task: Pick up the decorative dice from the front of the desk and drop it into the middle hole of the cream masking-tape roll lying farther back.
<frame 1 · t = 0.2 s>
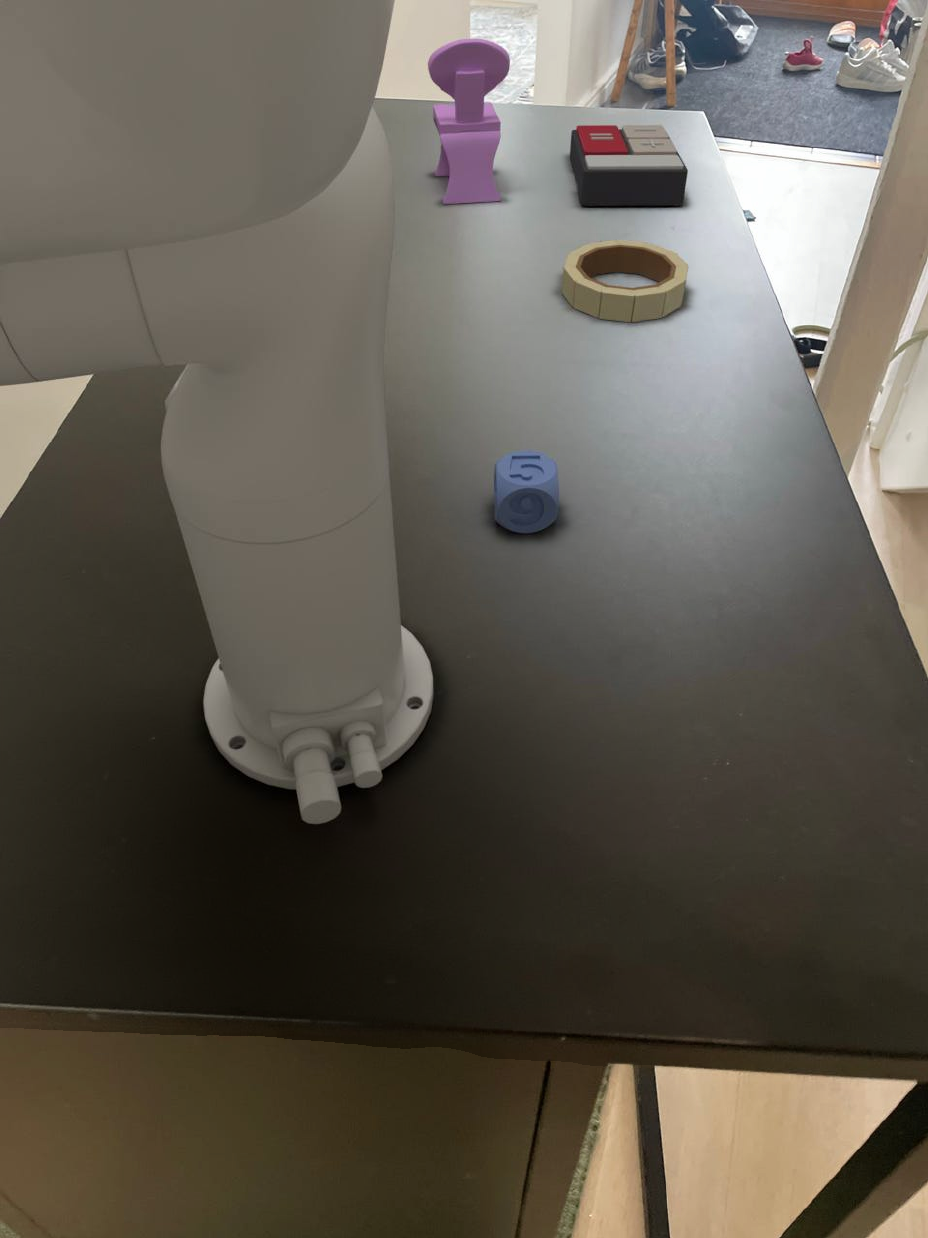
tube: (246, 366, 76), on the table
toy chair: (466, 188, 102), on the table
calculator: (623, 182, 103), on the table
tape roll: (622, 292, 84), on the table
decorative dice: (524, 517, 62), on the table
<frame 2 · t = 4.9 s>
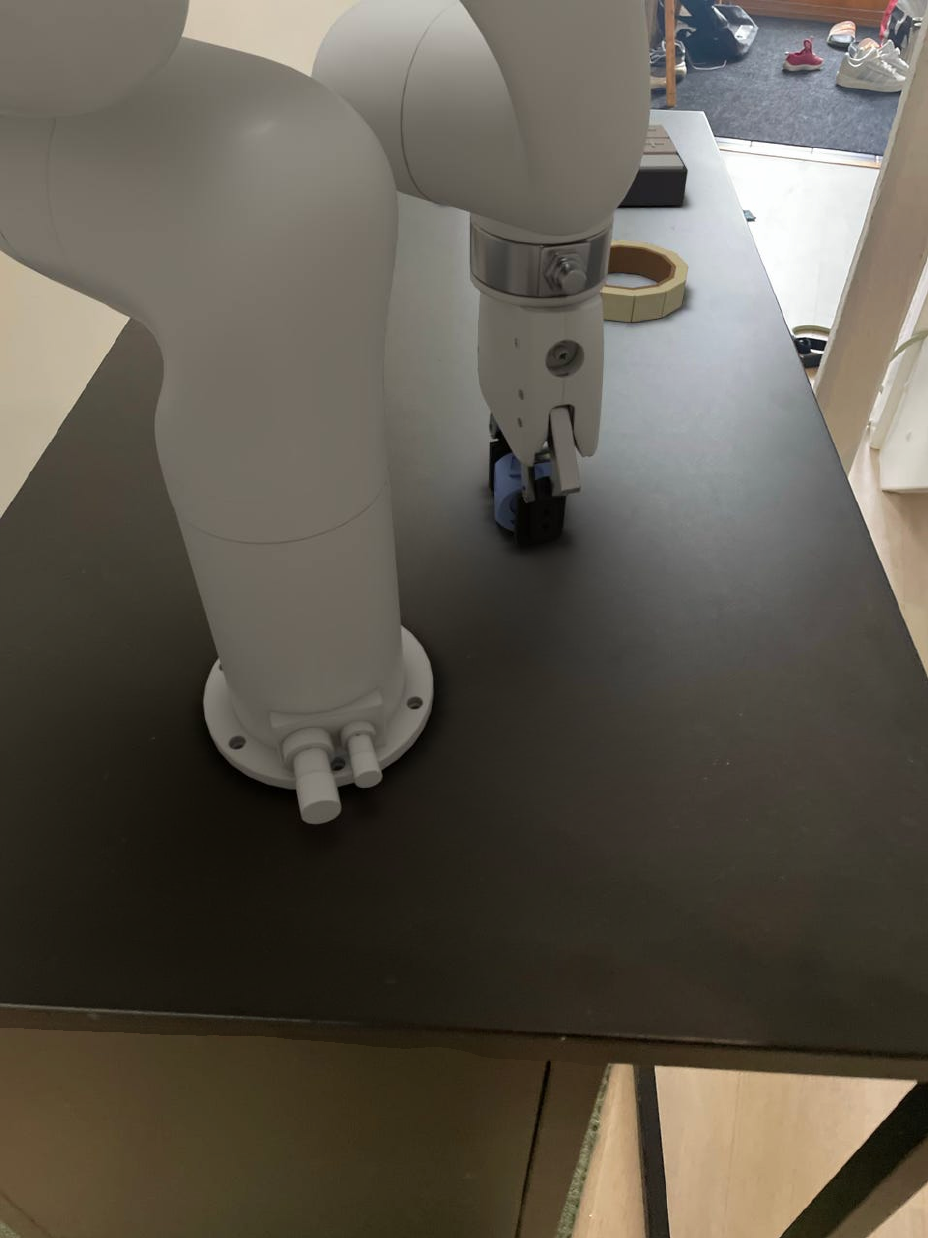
hand: (524, 510, 62), 0 cm above the table, tool pointing down, fingers closed on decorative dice, 4 cm apart
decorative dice: (524, 517, 62), on the table, touching gripper
everything else where it was.
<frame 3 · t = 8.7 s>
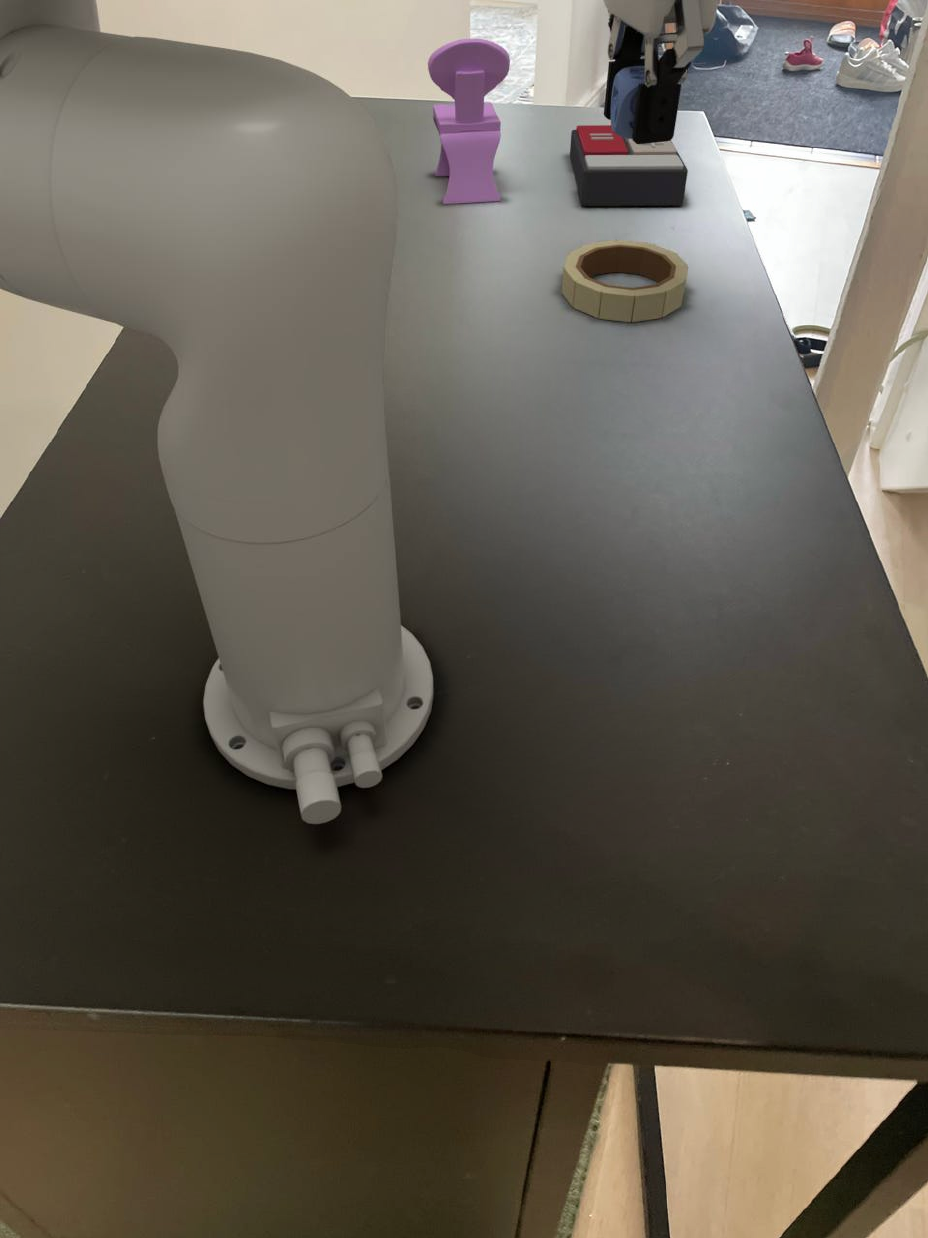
hand: (637, 126, 71), 15 cm above the table, tool pointing down, fingers closed on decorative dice, 4 cm apart
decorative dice: (637, 133, 71), point 15 cm above the table, touching gripper
everything else where it was.
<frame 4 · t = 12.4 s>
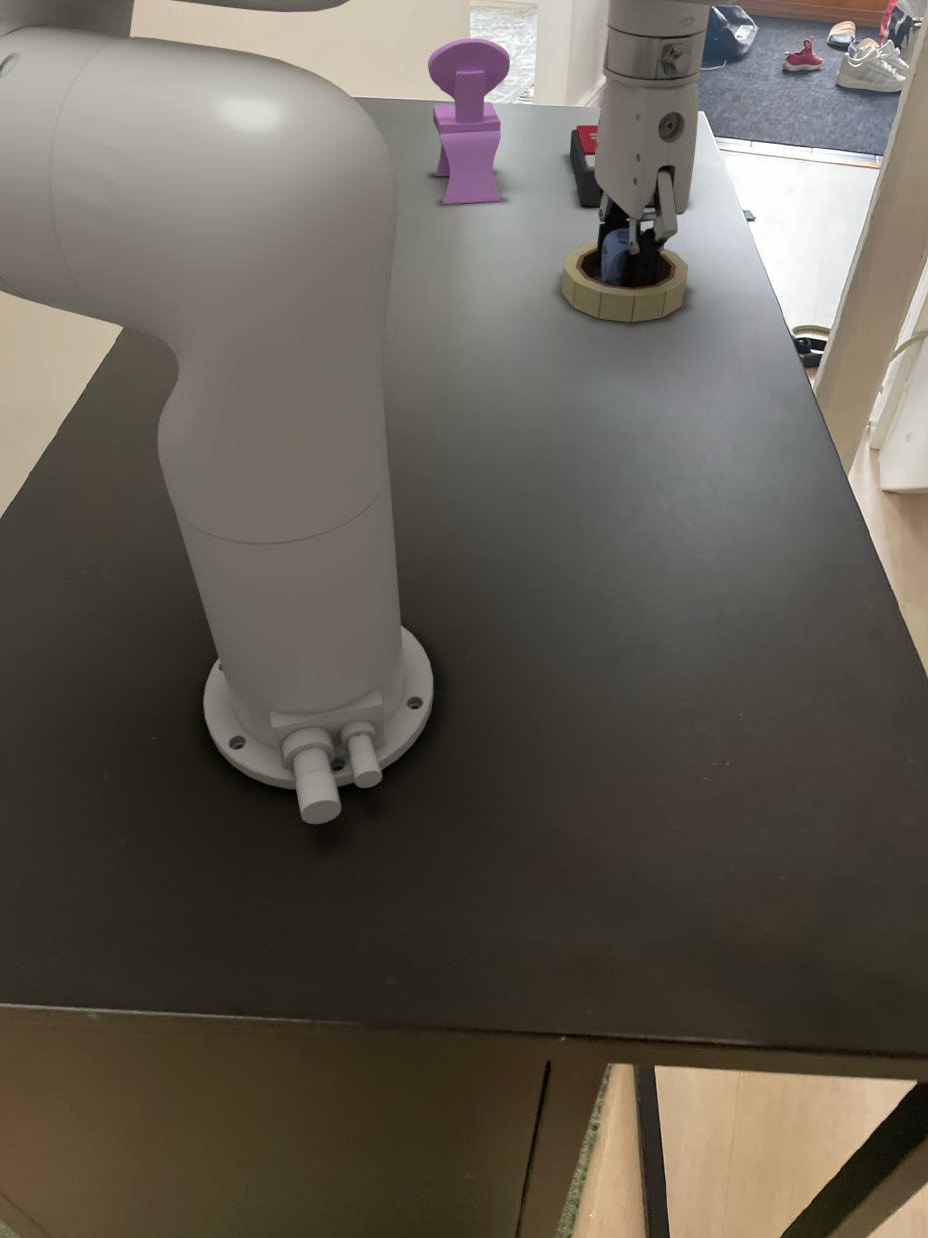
hand: (624, 277, 83), 2 cm above the table, tool pointing down, fingers closed on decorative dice, 4 cm apart
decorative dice: (623, 282, 84), point 1 cm above the table, touching gripper
everything else where it was.
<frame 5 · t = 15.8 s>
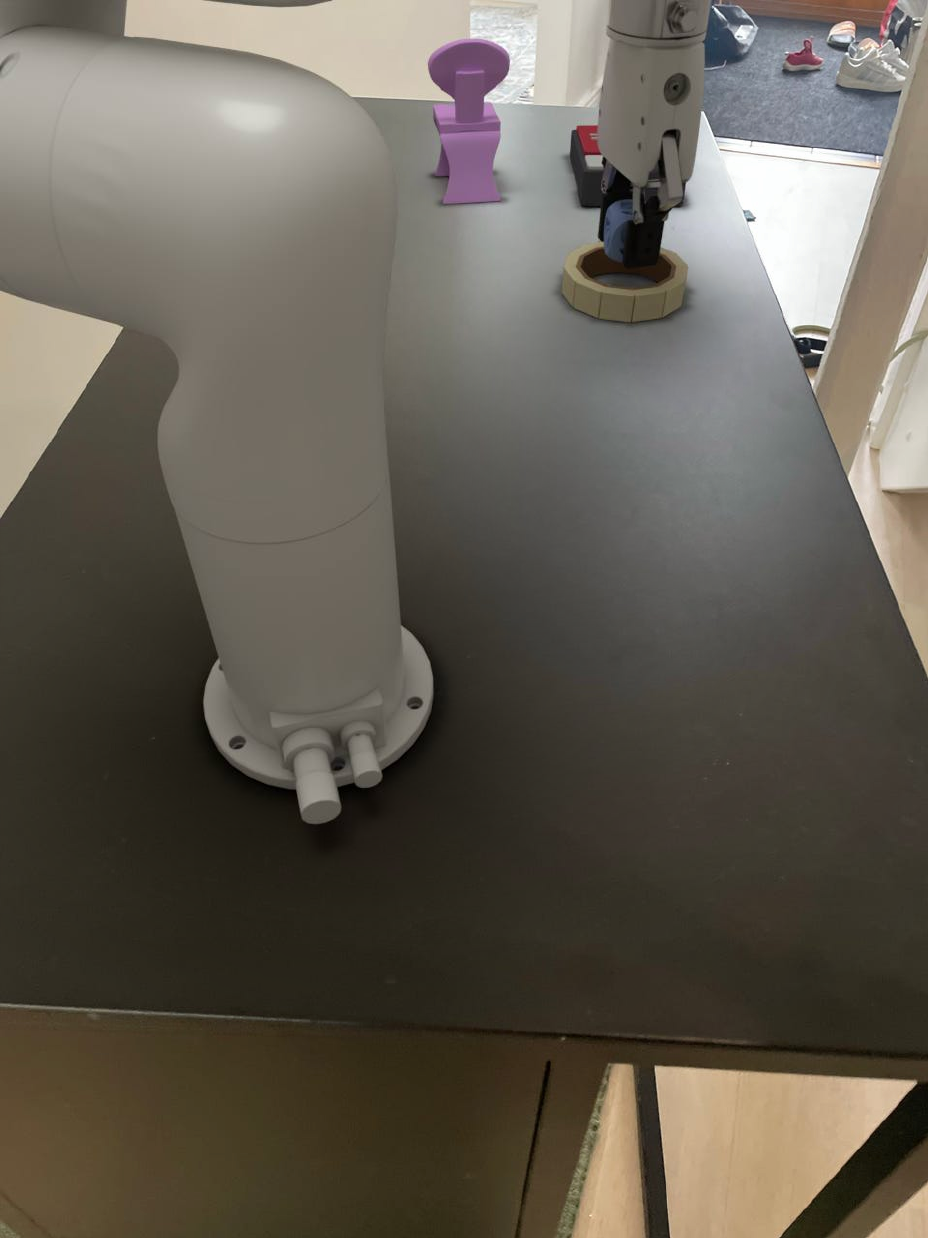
hand: (627, 249, 81), 4 cm above the table, tool pointing down, fingers closed on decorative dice, 4 cm apart
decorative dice: (626, 255, 81), point 4 cm above the table, touching gripper
everything else where it was.
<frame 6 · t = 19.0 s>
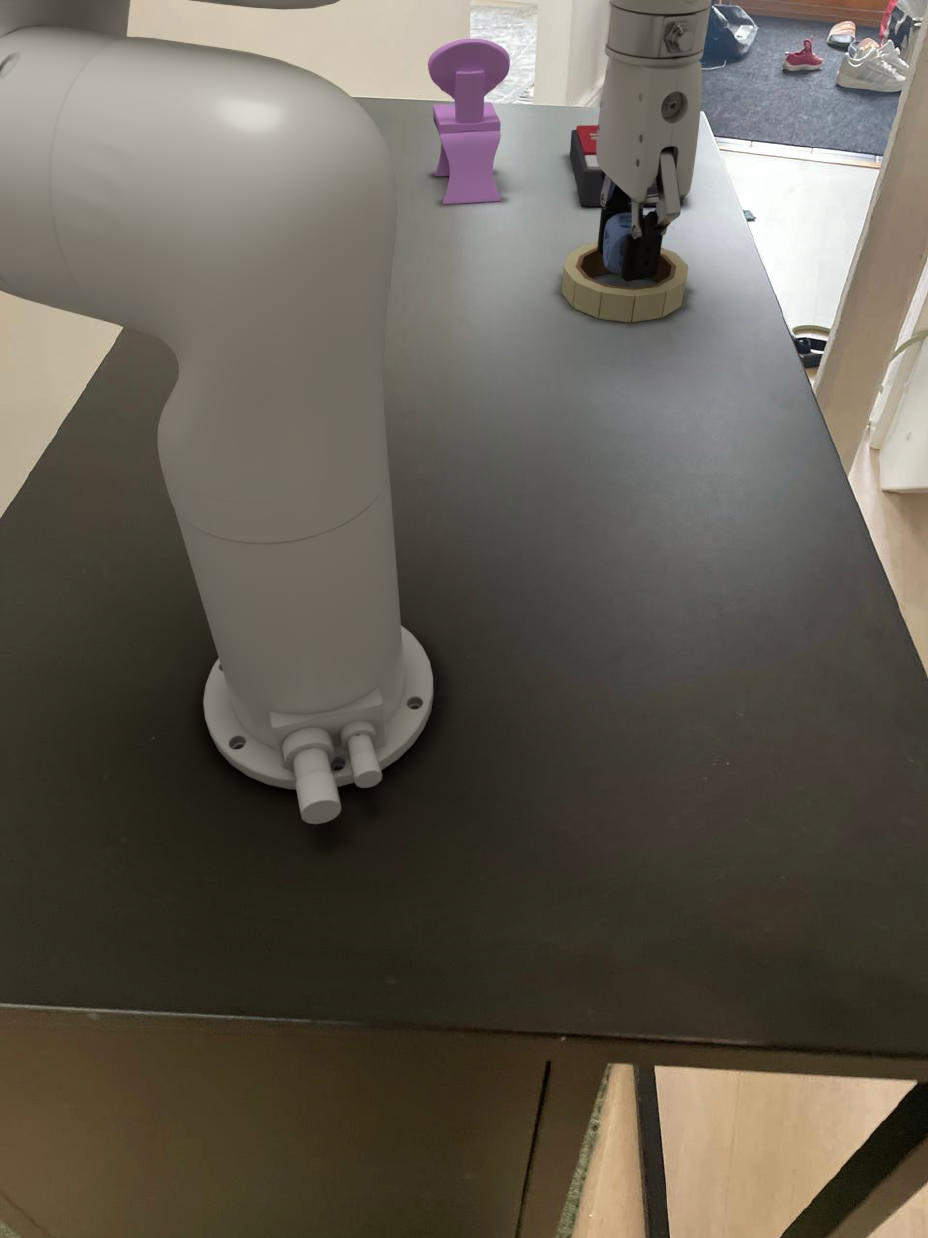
hand: (626, 262, 82), 3 cm above the table, tool pointing down, fingers closed on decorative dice, 4 cm apart
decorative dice: (625, 267, 83), point 2 cm above the table, touching gripper
everything else where it was.
when the fingers open (4 cm above the table, at t = 25.4 s): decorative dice drops 4 cm, resting in tape roll.
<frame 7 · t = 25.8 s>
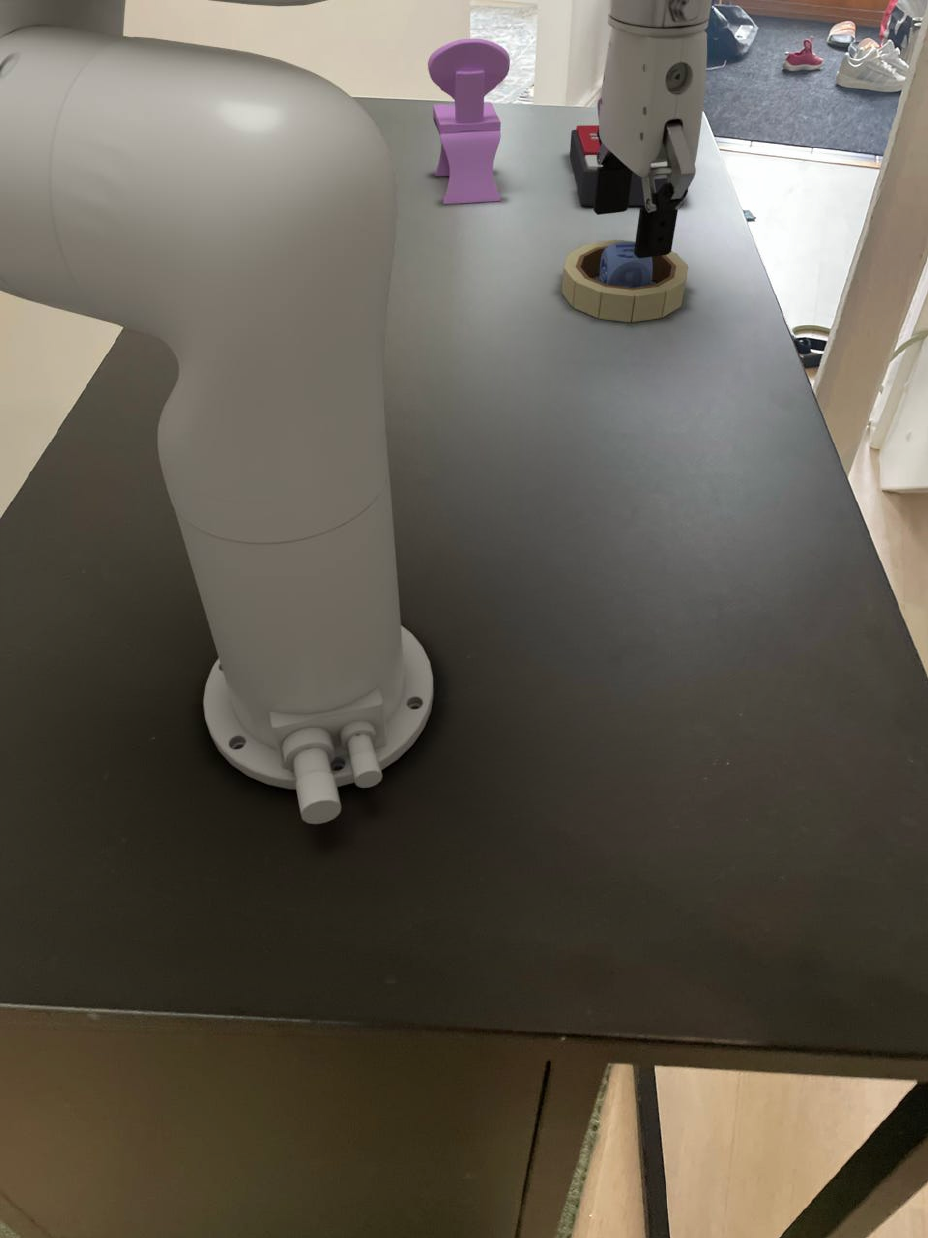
hand: (630, 232, 80), 6 cm above the table, tool pointing down, fingers open, 8 cm apart
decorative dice: (622, 295, 84), resting in tape roll
everything else where it was.
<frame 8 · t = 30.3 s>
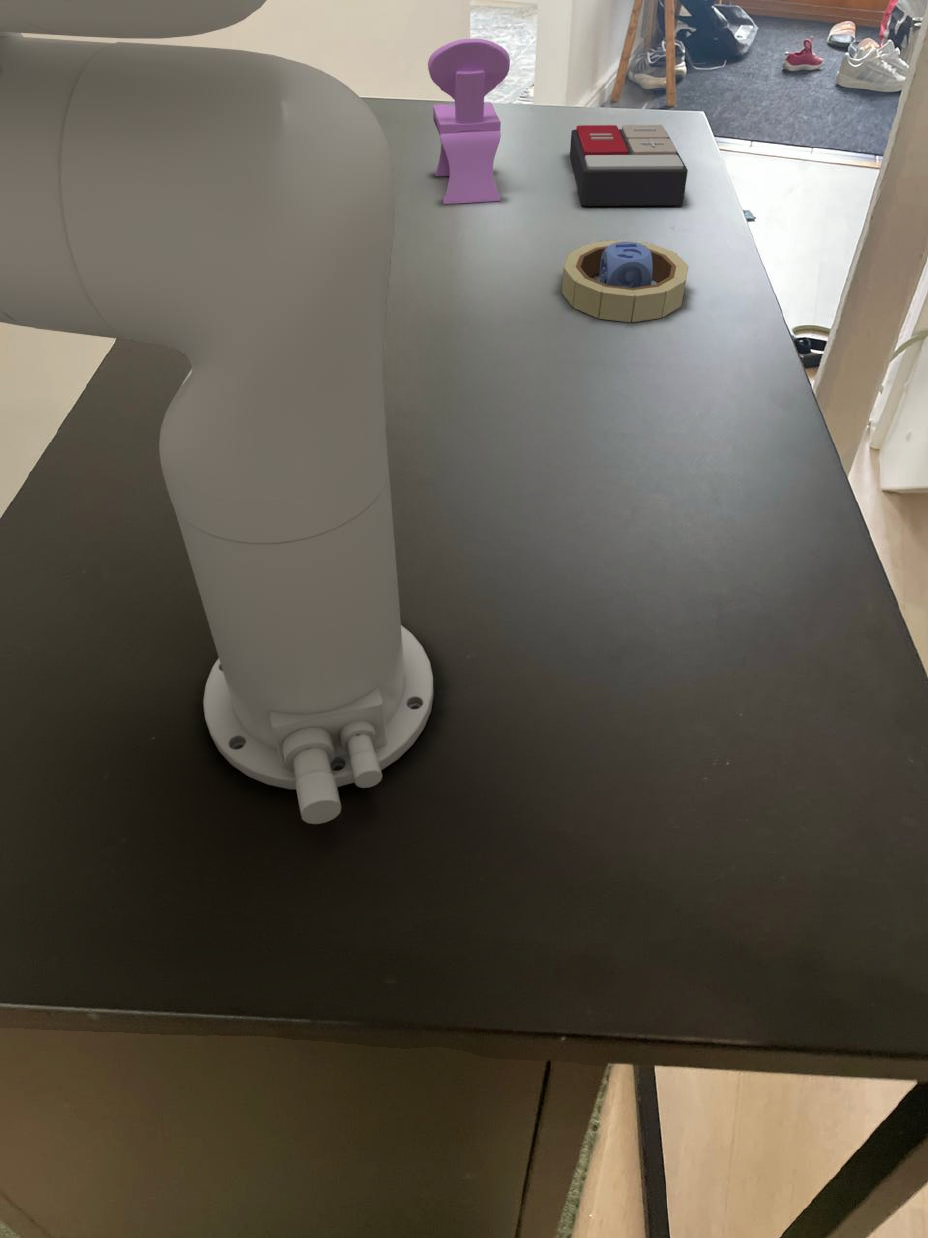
nothing on the table moved.
at the end: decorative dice 0.2 cm off-centre on the tape roll, point 0.0 cm above the tape roll's base; the gripper is holding nothing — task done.
